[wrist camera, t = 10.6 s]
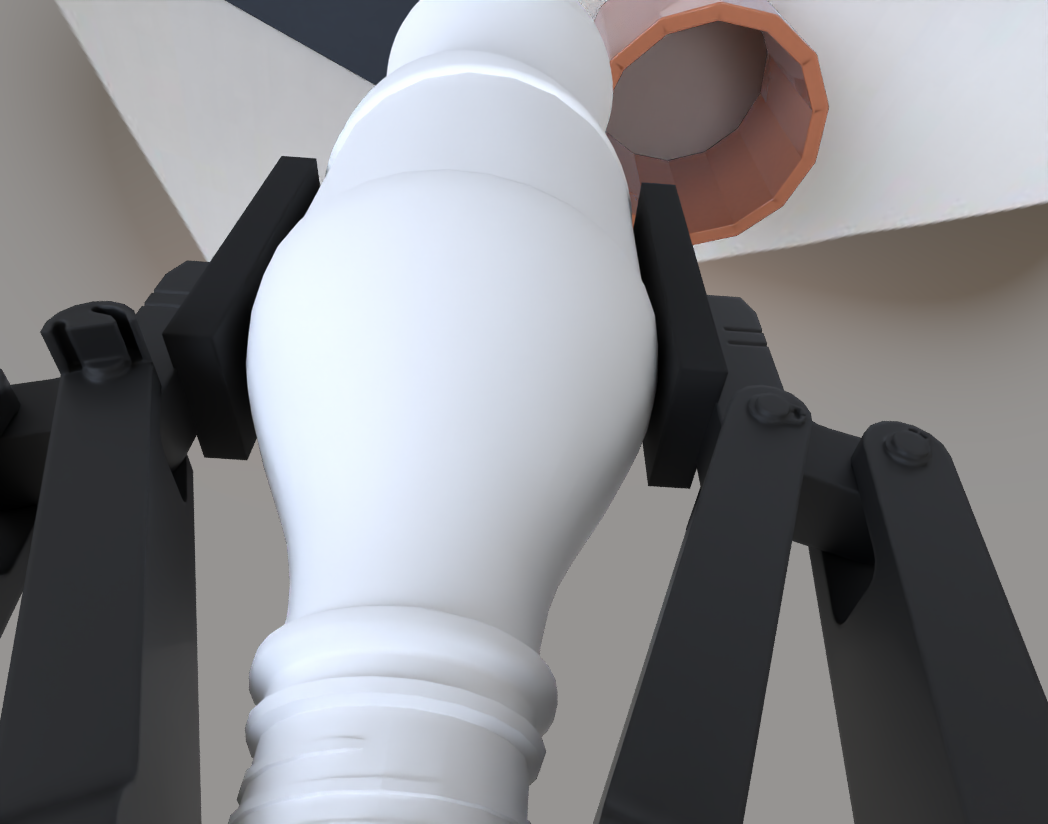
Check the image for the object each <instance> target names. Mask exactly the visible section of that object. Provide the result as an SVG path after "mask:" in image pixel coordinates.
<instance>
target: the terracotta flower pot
mask: <svg viewBox="0 0 1048 824" xmlns="http://www.w3.org/2000/svg"><path fill="white" fill-rule="evenodd" d="M716 21H722V22H726V23H731V24H735V25H739V26H744V27H748V28H752V29H756V30H761V31H762V33H763V37H764V41H765V44H766V48H767V52H768V54H767V59H766V65H765V70H764V75H763V81H762V86H761V92H760V94H759V96H758V97H757V99H756V100H755V102H754V103H753V105H752V107H751V108H750V110H749V111H748V113H747V114H746V116H745V117H744V119H743V121H742V122H741V124H740V125H739V127H738V128H737V129H736V130H735V131H733V132H732V133H731V134H729V135H728V136H726V137H725V138H724V139H722V140H721V141H720V142H718V143H717V144H715V145H714V146H713V147H711V148H710V149H708V150H707V151H706V152H703V153H698V154H694V155H690V156H686V157H681V158H677V159H673V160H669V161H666V160H662V159H657V158H652V157H647V156H642V155H637V154H633V153H632V152H631V151H630V150H628V149H627V148H626V147H625V146H623V145H622V144H621V143H620V142H618V141H617V140H616V139H615V138H614V137H612V136H611V135H610V134H609V133H607V132H606V131H605V134H606V135H607V137H608V139H609V141H610V142H611V144H612V146H613V148H614V150H615V152H616V154H617V156H618V159H619V161H620V163H621V165H622V168H623V171H624V175H625V178H626V181H627V184H628V189H629V195H630V200H631V209H632V225H633V227H634V221H635V216H636V210H637V205H638V199H639V194H640V188H641V183H642V182H645V183H659V184H672V185H676V188H677V192H678V195H679V199H680V202H681V206H682V210H683V213H684V217H685V220H686V224H687V227H688V231H689V234H690V238H691V241H692V245H695V244H700V243H705V242H709V241H714V240H719V239H723V238H728V237H733V236H737V235H739V234H740V233H742V232H743V231H745V230H747V229H748V228H750V227H751V226H753V225H754V224H756V223H757V222H759V221H761V220H762V219H764V218H765V217H767V216H768V215H770V214H771V213H773V212H775V211H776V210H778V209H779V208H781V207H782V206H783V205H784V204H785V203H786V201H787V200H788V199H789V197H790V196H791V194H792V193H793V192H794V190H795V189H796V188H797V186H798V185H799V184H800V182H801V181H802V180H803V178H804V177H805V176H806V174H807V173H808V172H809V170H810V169H811V168H812V166H813V165H814V164H815V162H816V158H817V154H818V150H819V146H820V142H821V138H822V134H823V130H824V126H825V122H826V118H827V114H828V110H829V104H828V100H827V95H826V91H825V87H824V83H823V78H822V74H821V70H820V65H819V61H818V57H817V54H816V52H815V51H814V50H813V49H812V48H811V47H810V46H809V45H808V44H807V43H806V42H805V40H804V39H803V38H802V37H801V36H800V35H799V34H798V33H797V32H796V31H795V30H794V29H793V27H792V26H791V25H790V24H789V23H788V22H787V21H786V20H785V19H784V18H783V17H782V15H781V14H780V13H779V12H778V11H777V10H776V9H775V8H774V7H773V6H772V5H771V3H770V2H769V1H768V0H608V1H607V2H606V3H605V4H603V5H602V6H601V8H600V10H599V12H598V14H597V16H596V18H595V21H594V23H595V25H596V27H597V29H598V31H599V33H600V35H601V38H602V40H603V43H604V45H605V48H606V51H607V54H608V58H609V63H610V68H611V74H612V81H613V90H614V88H615V86H616V84H617V82H618V80H619V79H620V77H621V75H622V73H623V71H624V69H626V68H627V67H628V66H629V65H630V64H632V63H633V62H634V61H635V60H637V59H638V58H639V57H640V56H641V55H643V54H644V53H645V52H646V51H647V50H649V49H650V48H651V47H652V46H653V45H655V44H656V43H657V42H658V41H660V40H661V39H662V38H663V37H664V36H666V35H667V34H671V33H674V32H678V31H682V30H686V29H689V28H693V27H697V26H701V25H704V24H708V23H712V22H716Z"/></svg>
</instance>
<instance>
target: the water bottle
mask: <svg viewBox="0 0 1048 824" xmlns="http://www.w3.org/2000/svg"><path fill="white" fill-rule="evenodd" d="M612 100H613V81H612V74H611V68H610V63H609V58H608V54H607V51H606V48H605V45H604V43H603V40H602V38H601V35H600V33H599V31H598V29H597V27H596V25H595V23H594V21H593V20H592V18H591V16H590V15H589V14H588V12H587V11H586V9H585V8H584V7H583V6H582V5H581V4H580V3H579V2H578V0H420V1H419V2H418V3H417V4H416V5H415V6H414V7H413V8H412V9H411V11H410V12H409V14H408V15H407V17H406V18H405V20H404V21H403V23H402V25H401V27H400V29H399V31H398V33H397V35H396V37H395V40H394V43H393V46H392V49H391V53H390V57H389V61H388V69H387V76H386V77H385V78H384V79H382V80H381V81H380V82H379V83H378V84H377V85H376V86H375V87H374V88H373V89H372V90H370V92H369V93H368V94H367V95H366V96H365V97H364V99H363V100H362V101H361V102H360V104H359V105H358V106H357V107H356V109H355V110H354V112H353V113H352V115H351V117H350V118H349V120H348V121H347V123H346V125H345V126H344V128H343V130H342V132H341V134H340V135H339V137H338V139H337V141H336V144H335V146H334V148H333V150H332V153H331V155H330V159H329V162H328V166H327V169H326V175H325V179H324V181H323V183H322V184H321V186H320V188H319V190H318V192H317V194H316V196H315V197H314V199H313V201H312V203H311V205H310V207H309V209H308V210H307V212H306V214H305V216H304V218H302V219H301V220H300V221H299V222H298V223H297V224H296V225H295V227H294V228H293V229H292V230H291V231H290V232H289V234H288V235H287V236H286V237H285V238H284V240H283V241H282V242H281V243H280V244H279V245H278V247H277V249H276V251H275V253H274V255H273V257H272V259H271V261H270V263H269V265H268V267H267V269H266V271H265V273H264V275H263V278H262V281H261V284H260V287H259V290H258V293H257V296H256V299H255V302H254V305H253V308H252V312H251V320H250V328H249V335H248V346H247V356H246V373H247V385H248V394H249V400H250V407H251V414H252V419H253V423H254V427H255V432H256V436H257V440H258V444H259V449H260V453H261V457H262V462H263V466H264V470H265V473H266V476H267V480H268V483H269V486H270V489H271V492H272V496H273V499H274V502H275V505H276V509H277V512H278V515H279V518H280V521H281V525H282V529H283V533H284V536H285V540H286V544H287V552H288V565H289V579H290V588H289V600H288V612H287V618H286V622H285V625H283V626H281V627H280V628H278V629H277V630H276V631H274V632H273V633H271V634H270V635H269V636H268V637H267V638H266V639H265V640H264V641H263V643H262V644H261V645H260V646H259V647H258V649H257V652H256V654H255V657H254V660H253V663H252V666H251V669H250V672H249V691H250V694H251V696H252V699H253V701H254V703H255V705H256V707H255V708H253V709H252V710H251V711H250V714H249V717H248V720H247V724H246V727H245V733H246V742H247V745H248V748H249V751H250V754H251V757H252V758H253V762H252V766H251V767H250V768H249V769H247V770H246V773H245V776H244V779H243V782H242V785H241V788H240V791H239V794H238V797H237V801H238V803H239V808H238V809H237V810H236V811H235V812H234V813H233V814H231V815H230V819H229V822H228V824H531V823H530V822H529V821H528V820H527V810H528V791H529V785H531V784H532V783H533V782H534V781H535V780H536V779H537V776H538V773H539V771H540V768H541V765H542V762H543V759H544V756H545V753H546V750H545V747H544V744H543V740H542V736H543V735H544V734H545V733H546V732H547V731H548V729H549V727H550V726H551V724H552V723H553V720H554V717H555V712H556V708H557V687H556V681H555V678H554V676H553V674H552V672H551V670H550V668H549V666H548V665H547V664H546V663H545V662H544V661H543V659H542V658H541V657H540V646H541V642H542V637H543V633H544V629H545V623H546V620H547V615H548V611H549V608H550V606H551V603H552V601H553V598H554V596H555V593H556V591H557V588H558V586H559V585H560V583H561V581H562V579H563V578H564V576H565V574H566V573H567V571H568V569H569V567H570V566H571V564H572V562H573V561H574V559H575V558H576V556H577V555H578V553H579V552H580V551H581V549H582V547H583V546H584V545H585V543H586V542H587V540H588V539H589V537H590V536H591V534H592V532H593V531H594V530H595V528H596V526H597V525H598V524H599V522H600V520H601V519H602V517H603V516H604V514H605V513H606V511H607V509H608V507H609V506H610V504H611V502H612V500H613V498H614V497H615V495H616V493H617V491H618V490H619V488H620V486H621V484H622V483H623V480H624V479H625V477H626V475H627V473H628V472H629V470H630V468H631V466H632V464H633V462H634V459H635V458H636V456H637V454H638V452H639V449H640V447H641V444H642V442H643V439H644V437H645V434H646V432H647V429H648V425H649V421H650V417H651V412H652V408H653V404H654V399H655V394H656V388H657V383H658V339H657V330H656V320H655V314H654V311H653V308H652V305H651V303H650V300H649V297H648V294H647V291H646V288H645V285H644V284H643V282H642V280H641V274H640V268H639V262H638V256H637V250H636V243H635V237H634V231H633V225H632V209H631V200H630V195H629V189H628V184H627V181H626V178H625V175H624V171H623V168H622V165H621V163H620V161H619V159H618V156H617V154H616V152H615V150H614V148H613V146H612V144H611V142H610V141H609V139H608V137H607V135H606V134H605V131H606V128H607V125H608V122H609V119H610V114H611V109H612Z"/></svg>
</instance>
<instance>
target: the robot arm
mask: <svg viewBox="0 0 1048 824" xmlns="http://www.w3.org/2000/svg"><path fill="white" fill-rule="evenodd" d="M319 188H320V183H319V176H318V168H317V161H316V159H315V158H301V157H288V156H281V158H280V159H279V161H278V162H277V164H276V165H275V167H274V168H273V170H272V171H271V173H270V174H269V175H268V177H267V178H266V180H265V181H264V183H263V184H262V186H261V187H260V189H259V190H258V192H257V193H256V195H255V196H254V198H253V199H252V201H251V202H250V204H249V205H248V207H247V208H246V210H245V211H244V213H243V214H242V216H241V217H240V218H239V220H238V221H237V223H236V224H235V226H234V227H233V229H232V230H231V232H230V233H229V235H228V236H227V238H226V239H225V241H224V242H223V244H222V245H221V247H220V248H219V250H218V251H217V253H216V254H215V256H214V257H213V258H212V260H211V261H210V262H199V261H186V262H184V263H183V264H181V265H179V266H178V267H176V268H174V269H173V270H171V271H170V272H168V273H167V274H165V276H164V277H163V279H162V280H161V281H160V282H159V284H158V285H157V287H156V288H155V289H154V293H151V295H150V296H149V297H148V299H147V300H146V301H145V306H142V307H141V308H140V309H139V311H138V312H137V314H136V315H135V312H134V310H132V309H131V308H129V307H128V306H126V305H125V304H121V303H116V302H112V301H100V302H99V301H97V302H89V303H84V304H80V305H75V306H73V307H70V308H68V309H66V310H63V311H61V312H59V313H57V314H56V315H54V316H53V317H52V318H51V319H49V320H48V321H47V322H46V323H45V325H44V326H43V328H42V330H41V335H42V336H43V339H44V341H45V343H46V345H47V347H48V349H49V351H50V353H51V355H52V357H53V359H54V361H55V363H56V365H57V367H58V369H59V371H60V374H61V377H60V378H55V379H50V380H43V381H36V382H28V383H21V384H14V385H10V383H9V381H8V380H7V378H6V376H5V374H4V372H3V371H2V369H0V638H1V635H2V634H3V632H4V629H5V627H6V625H7V623H8V621H9V619H10V617H11V615H12V613H13V611H14V609H15V606H16V604H17V602H18V600H19V598H20V596H21V594H22V592H23V594H22V599H21V605H20V611H19V616H18V622H17V628H16V634H15V639H14V645H13V651H12V656H11V663H10V668H9V673H8V679H7V685H6V691H5V696H4V702H3V708H2V713H1V719H0V824H201V788H200V748H199V747H200V746H199V705H198V663H197V662H198V661H197V621H196V620H197V619H196V578H195V540H194V539H195V536H194V496H193V495H194V492H193V470H192V467H191V464H190V461H189V458H188V456H187V452H188V451H189V448H190V447H191V445H192V443H193V441H194V439H195V437H196V435H197V437H198V440H199V443H200V446H201V449H202V452H203V455H204V457H206V458H221V459H237V460H247V459H248V457H249V455H250V453H251V450H252V448H253V446H254V443H255V441H256V439H257V436H256V432H255V427H254V423H253V419H252V414H251V407H250V400H249V394H248V385H247V373H246V356H247V346H248V335H249V328H250V320H251V312H252V308H253V305H254V302H255V299H256V296H257V293H258V290H259V287H260V284H261V281H262V278H263V275H264V273H265V271H266V269H267V267H268V265H269V263H270V261H271V259H272V257H273V255H274V253H275V251H276V249H277V247H278V245H279V244H280V243H281V242H282V241H283V240H284V238H285V237H286V236H287V235H288V234H289V232H290V231H291V230H292V229H293V228H294V227H295V225H296V224H297V223H298V222H299V221H300V220H301V219H302V218H304V216H305V214H306V212H307V210H308V209H309V207H310V205H311V203H312V201H313V199H314V197H315V196H316V194H317V192H318V190H319ZM633 231H634V237H635V243H636V250H637V256H638V262H639V268H640V274H641V280H642V282H643V284H644V285H645V288H646V291H647V294H648V297H649V300H650V303H651V305H652V308H653V311H654V314H655V320H656V330H657V339H658V383H657V388H656V394H655V399H654V404H653V408H652V412H651V417H650V421H649V425H648V429H647V432H646V434H645V437H644V439H643V449H644V457H645V464H646V472H647V480H648V486H657V487H658V486H659V487H672V488H673V487H674V488H688V489H690V487H691V484H692V481H693V478H694V475H695V472H696V469H697V471H698V476H699V481H700V486H701V487H700V490H699V493H698V496H697V499H696V501H695V504H694V507H693V510H692V513H691V516H690V519H689V522H688V525H687V528H686V533H685V536H684V539H683V542H682V545H681V548H680V552H679V555H678V558H677V561H676V564H675V567H674V570H673V574H672V577H671V580H670V583H669V586H668V589H667V592H666V596H665V599H664V602H663V605H662V608H661V611H660V614H659V618H658V621H657V624H656V627H655V630H654V633H653V636H652V640H651V643H650V646H649V649H648V652H647V656H646V659H645V662H644V665H643V668H642V671H641V674H640V677H639V681H638V684H637V687H636V690H635V693H634V696H633V699H632V703H631V706H630V709H629V712H628V715H627V718H626V722H625V725H624V728H623V731H622V734H621V737H620V740H619V743H618V747H617V750H616V753H615V756H614V760H613V762H612V765H611V769H610V772H609V775H608V778H607V781H606V785H605V787H604V791H603V794H602V797H601V800H600V803H599V807H598V809H597V813H596V816H595V819H594V822H593V824H743V820H744V814H745V807H746V802H747V797H748V791H749V785H750V779H751V774H752V768H753V762H754V757H755V750H756V745H757V739H758V734H759V727H760V722H761V715H762V710H763V705H764V699H765V693H766V687H767V682H768V676H769V670H770V664H771V658H772V653H773V646H774V641H775V636H776V630H777V624H778V618H779V612H780V606H781V601H782V595H783V590H784V584H785V578H786V572H787V566H788V561H789V555H790V549H791V544H792V541H794V542H797V543H800V544H803V545H807V546H808V547H809V553H810V559H811V565H812V571H813V577H814V583H815V589H816V595H817V601H818V607H819V613H820V619H821V625H822V631H823V637H824V643H825V649H826V655H827V661H828V667H829V673H830V679H831V685H832V691H833V697H834V703H835V709H836V715H837V721H838V727H839V733H840V739H841V745H842V751H843V757H844V763H845V769H846V775H847V781H848V787H849V793H850V799H851V805H852V811H853V817H854V823H855V824H1048V702H1047V699H1046V696H1045V694H1044V692H1043V689H1042V686H1041V684H1040V681H1039V679H1038V676H1037V674H1036V671H1035V669H1034V666H1033V664H1032V661H1031V659H1030V656H1029V653H1028V651H1027V648H1026V646H1025V643H1024V641H1023V638H1022V636H1021V633H1020V631H1019V628H1018V626H1017V623H1016V620H1015V618H1014V615H1013V613H1012V610H1011V608H1010V605H1009V603H1008V600H1007V598H1006V595H1005V593H1004V590H1003V587H1002V585H1001V582H1000V580H999V578H998V575H997V572H996V570H995V567H994V565H993V562H992V560H991V557H990V555H989V552H988V549H987V547H986V544H985V542H984V539H983V537H982V534H981V532H980V529H979V527H978V524H977V522H976V519H975V516H974V514H973V512H972V509H971V506H970V504H969V501H968V499H967V496H966V494H965V491H964V489H963V486H962V484H961V481H960V478H959V476H958V473H957V471H956V468H955V466H954V463H953V461H952V458H951V456H950V455H949V453H948V451H947V450H946V448H945V447H944V445H943V444H942V443H940V442H939V441H938V440H937V439H936V438H934V437H933V436H932V435H931V434H929V433H927V432H925V431H923V430H921V429H919V428H917V427H915V426H913V425H909V424H905V423H902V422H897V421H882V422H879V423H875V424H873V425H871V426H870V427H869V428H868V429H867V430H866V431H865V432H864V434H863V436H862V438H860V437H856V436H853V435H849V434H846V433H843V432H839V431H836V430H832V429H829V428H827V427H824V426H821V425H818V424H816V423H815V422H813V421H812V418H811V413H810V411H809V410H808V408H807V407H806V406H805V404H804V403H803V402H802V401H800V400H799V399H798V398H797V397H795V396H794V395H792V394H791V393H789V392H786V391H784V389H783V386H782V383H781V381H780V378H779V375H778V372H777V370H776V367H775V364H774V361H773V358H772V356H771V353H770V350H769V347H767V342H766V339H765V336H764V334H763V333H762V328H761V325H760V323H759V320H758V317H757V314H756V312H755V311H753V310H752V309H751V308H750V307H749V306H748V305H747V304H746V303H745V302H744V301H743V300H742V299H741V298H740V297H728V296H714V295H706V291H705V287H704V284H703V281H702V277H701V274H700V270H699V266H698V263H697V259H696V256H695V252H694V248H693V245H692V241H691V238H690V234H689V231H688V227H687V224H686V220H685V217H684V213H683V210H682V206H681V202H680V199H679V195H678V192H677V188H676V185H672V184H659V183H645V182H642V183H641V188H640V194H639V199H638V205H637V210H636V216H635V221H634V227H633Z"/></svg>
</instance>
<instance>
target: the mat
mask: <svg viewBox="0 0 1048 824" xmlns="http://www.w3.org/2000/svg"><path fill="white" fill-rule="evenodd" d="M225 1H227V2H229V3H231V4H233V5H234V6H236V7H238V8H240V9H241V10H243V11H245V12H247V13H249V14H250V15H252V16H254V17H256V18H257V19H259V20H261V21H263V22H264V23H266V24H268V25H270V26H272V27H273V28H275V29H277V30H279V31H280V32H282V33H284V34H286V35H288V36H289V37H291V38H293V39H295V40H296V41H298V42H300V43H302V44H304V45H305V46H307V47H309V48H311V49H312V50H314V51H316V52H318V53H320V54H321V55H323V56H325V57H327V58H328V59H330V60H332V61H334V62H335V63H337V64H339V65H341V66H343V67H344V68H346V69H348V70H350V71H351V72H353V73H355V74H357V75H359V76H360V77H362V78H364V79H366V80H367V81H369V82H371V83H373V84H375V85H377V84H378V83H379V82H380V81H381V80H382V79H384V78H385V77H386V76H387V69H388V61H389V57H390V53H391V49H392V46H393V43H394V40H395V37H396V35H397V33H398V31H399V29H400V27H401V25H402V23H403V21H404V20H405V18H406V17H407V15H408V14H409V12H410V11H411V9H412V8H413V7H414V6H415V5H416V4H417V3H418V2H419V1H420V0H225Z"/></svg>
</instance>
